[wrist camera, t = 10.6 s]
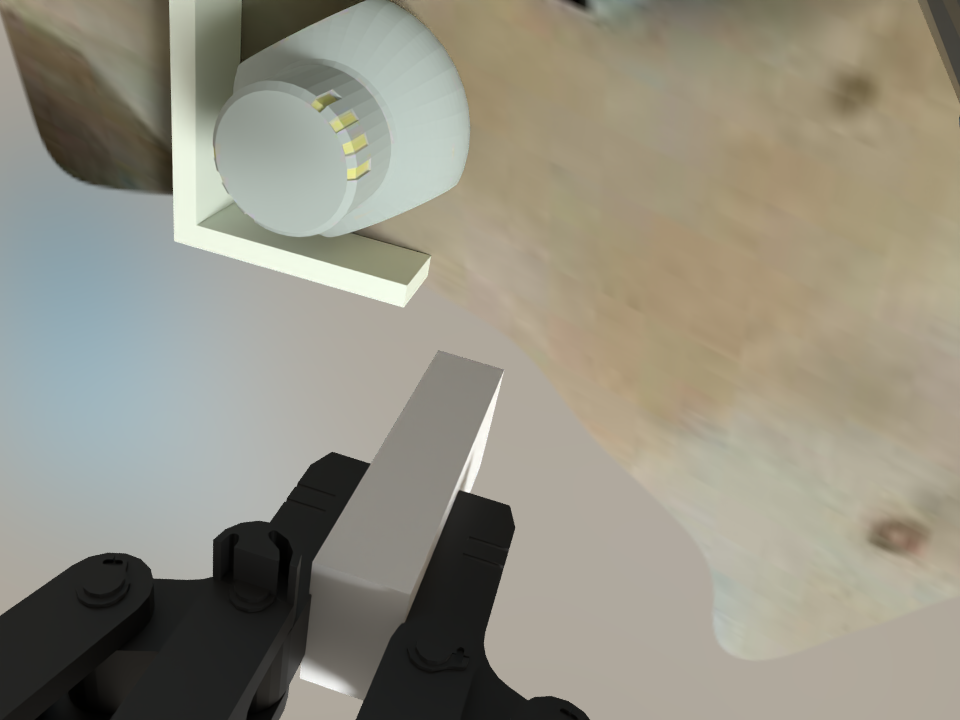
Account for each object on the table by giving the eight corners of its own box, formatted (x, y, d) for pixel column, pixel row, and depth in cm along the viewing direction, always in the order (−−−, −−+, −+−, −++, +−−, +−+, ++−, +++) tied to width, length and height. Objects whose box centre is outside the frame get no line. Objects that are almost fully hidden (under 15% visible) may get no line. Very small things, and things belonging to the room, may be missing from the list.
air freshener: (322, 224, 40) (225, 302, 32) (243, 71, 37) (113, 112, 29) (508, 152, 36) (454, 219, 28) (436, -27, 33) (351, -14, 25)
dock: (219, -110, 33) (166, -115, 30) (483, -47, 32) (459, -45, 29) (216, 216, 41) (174, 241, 38) (427, 276, 40) (403, 307, 37)
